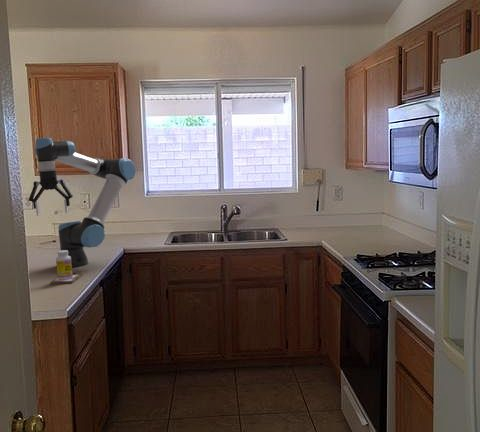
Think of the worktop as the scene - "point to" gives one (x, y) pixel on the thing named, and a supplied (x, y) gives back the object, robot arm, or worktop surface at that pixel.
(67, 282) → the clipboard
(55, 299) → the worktop surface
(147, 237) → the worktop surface
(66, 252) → the supplement bottle
